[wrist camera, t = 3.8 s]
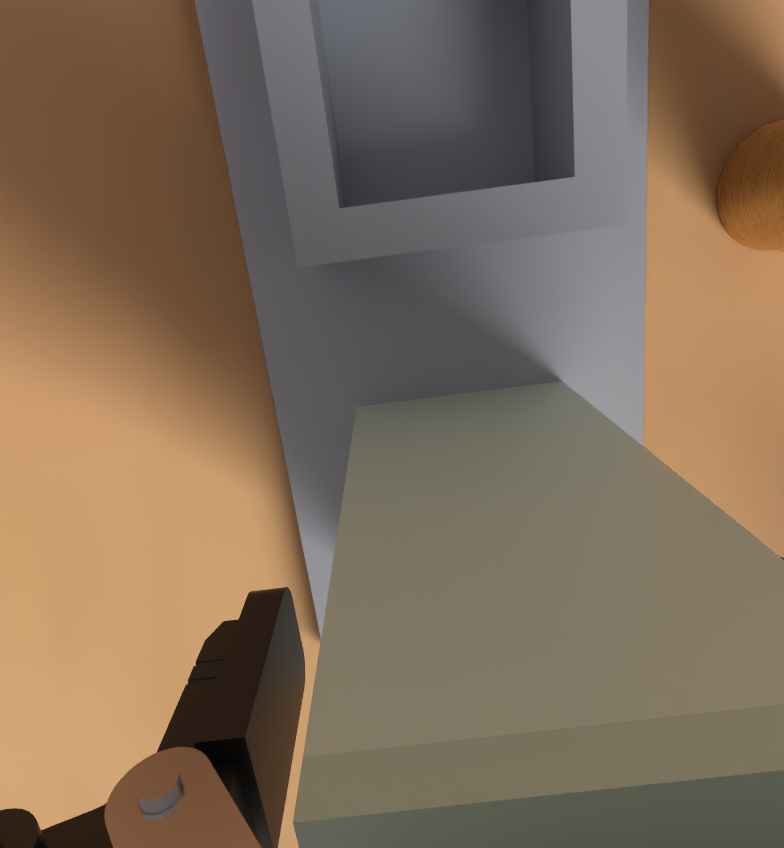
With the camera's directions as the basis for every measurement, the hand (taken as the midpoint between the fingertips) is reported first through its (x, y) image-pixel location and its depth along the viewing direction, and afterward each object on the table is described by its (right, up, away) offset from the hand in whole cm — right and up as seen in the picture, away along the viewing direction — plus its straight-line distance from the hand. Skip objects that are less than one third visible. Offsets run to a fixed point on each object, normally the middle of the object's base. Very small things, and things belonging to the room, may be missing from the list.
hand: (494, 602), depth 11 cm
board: (0, +7, +5) cm, 8 cm away
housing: (0, +2, +5) cm, 5 cm away
